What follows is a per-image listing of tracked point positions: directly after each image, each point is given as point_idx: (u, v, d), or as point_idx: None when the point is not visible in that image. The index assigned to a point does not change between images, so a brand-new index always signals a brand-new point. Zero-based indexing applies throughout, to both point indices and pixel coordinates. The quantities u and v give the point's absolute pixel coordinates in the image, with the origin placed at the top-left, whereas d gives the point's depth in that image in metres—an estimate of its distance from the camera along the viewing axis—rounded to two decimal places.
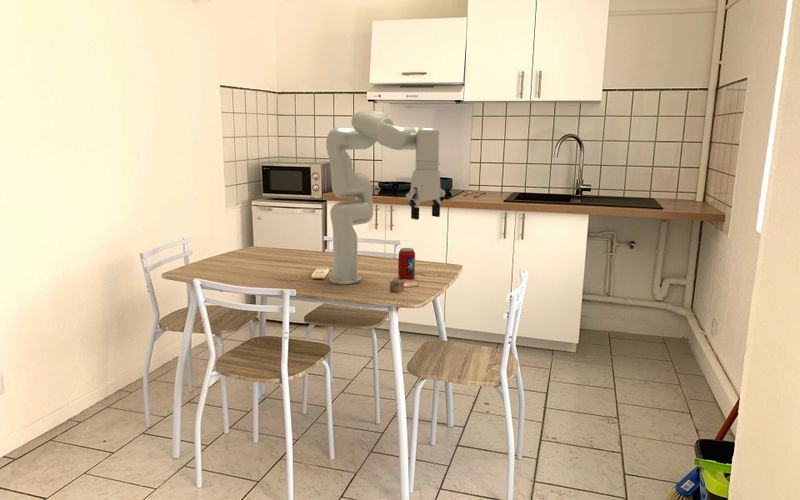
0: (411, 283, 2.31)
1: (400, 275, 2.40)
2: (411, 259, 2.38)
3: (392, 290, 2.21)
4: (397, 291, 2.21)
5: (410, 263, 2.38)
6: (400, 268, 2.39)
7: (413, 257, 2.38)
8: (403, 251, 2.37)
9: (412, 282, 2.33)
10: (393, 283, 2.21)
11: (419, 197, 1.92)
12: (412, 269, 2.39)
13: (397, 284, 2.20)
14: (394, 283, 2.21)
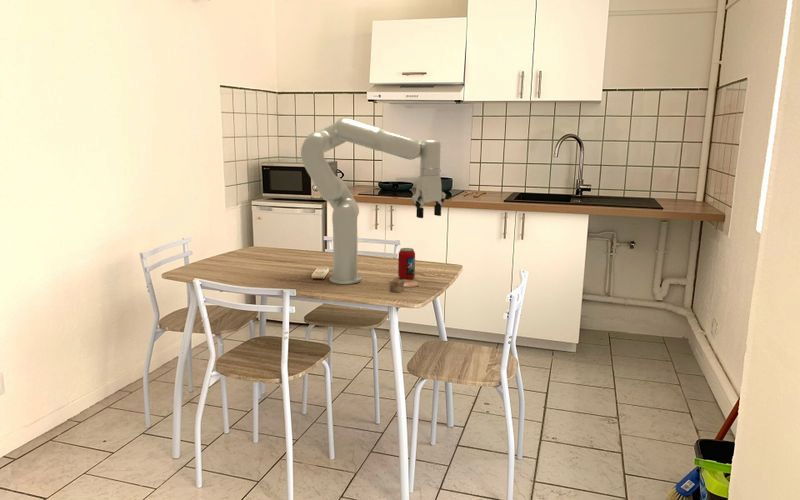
0: (411, 283, 2.31)
1: (400, 275, 2.40)
2: (411, 259, 2.38)
3: (392, 290, 2.21)
4: (397, 291, 2.21)
5: (410, 263, 2.38)
6: (400, 268, 2.39)
7: (413, 257, 2.38)
8: (403, 251, 2.37)
9: (412, 282, 2.33)
10: (393, 283, 2.21)
11: (423, 199, 2.25)
12: (412, 269, 2.39)
13: (397, 284, 2.20)
14: (394, 283, 2.20)
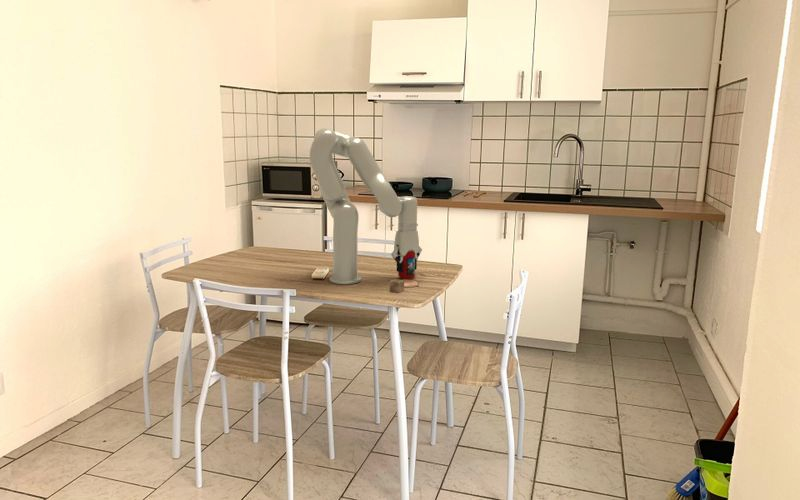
0: (411, 283, 2.31)
1: (400, 275, 2.40)
2: (411, 259, 2.38)
3: (392, 290, 2.21)
4: (397, 291, 2.21)
5: (410, 263, 2.38)
6: None
7: (413, 257, 2.38)
8: None
9: (412, 282, 2.33)
10: (393, 283, 2.21)
11: (401, 253, 2.35)
12: (412, 269, 2.39)
13: (397, 284, 2.20)
14: (394, 283, 2.20)
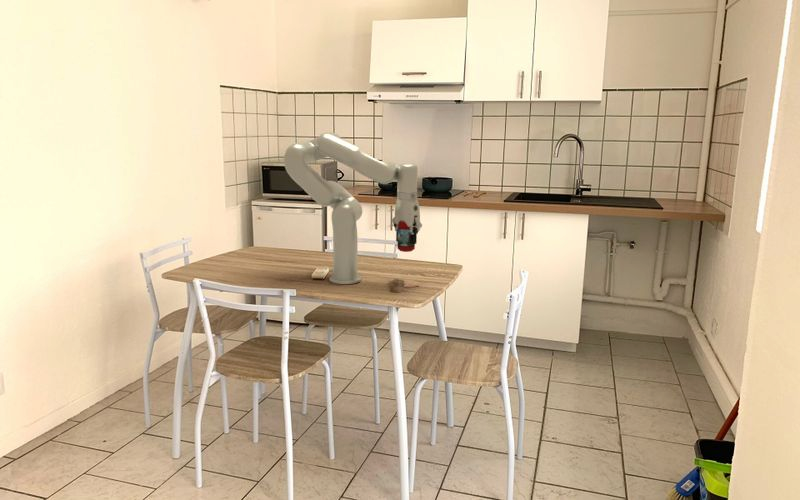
0: (411, 283, 2.31)
1: None
2: (399, 229, 2.26)
3: (392, 290, 2.21)
4: (397, 291, 2.21)
5: (398, 233, 2.27)
6: None
7: (401, 228, 2.25)
8: None
9: (412, 282, 2.33)
10: (393, 283, 2.21)
11: (394, 220, 2.30)
12: (400, 241, 2.27)
13: (397, 284, 2.20)
14: (394, 283, 2.20)
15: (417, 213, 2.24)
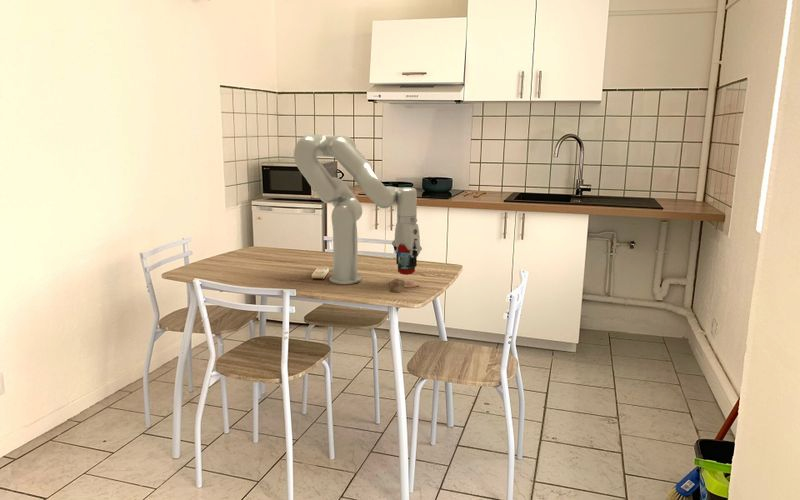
0: (411, 283, 2.31)
1: None
2: (399, 253, 2.28)
3: (392, 290, 2.21)
4: (397, 291, 2.21)
5: (398, 256, 2.28)
6: None
7: (401, 251, 2.27)
8: None
9: (412, 282, 2.33)
10: (393, 283, 2.21)
11: (395, 243, 2.32)
12: (400, 264, 2.28)
13: (397, 284, 2.20)
14: (394, 283, 2.20)
15: (417, 236, 2.25)
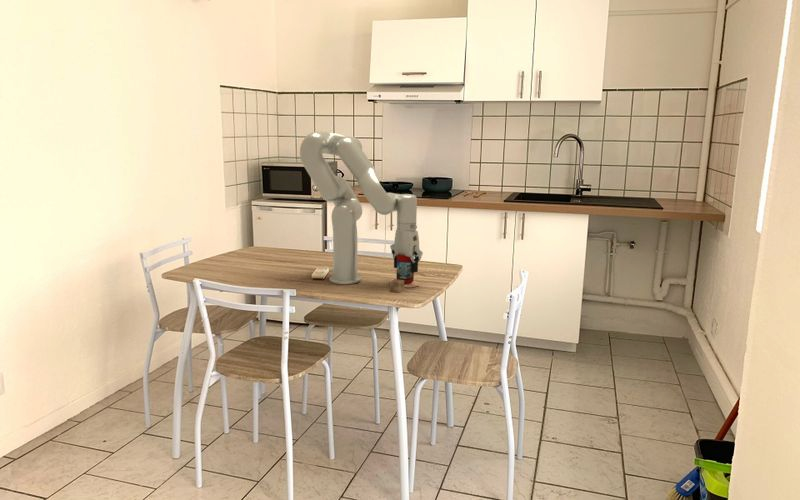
0: (411, 283, 2.31)
1: None
2: (398, 262, 2.29)
3: (392, 290, 2.21)
4: (397, 291, 2.21)
5: (397, 266, 2.29)
6: None
7: (400, 261, 2.28)
8: None
9: (412, 282, 2.33)
10: (393, 283, 2.21)
11: None
12: (399, 273, 2.29)
13: (397, 284, 2.20)
14: (394, 283, 2.20)
15: (416, 243, 2.26)
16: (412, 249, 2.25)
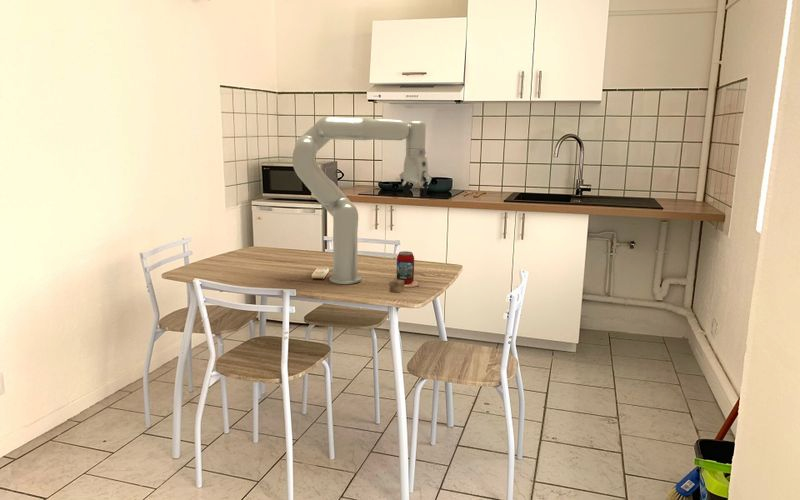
0: (411, 283, 2.31)
1: None
2: (398, 262, 2.29)
3: (392, 290, 2.21)
4: (397, 291, 2.21)
5: (397, 266, 2.29)
6: None
7: (400, 261, 2.28)
8: None
9: (412, 282, 2.33)
10: (393, 283, 2.21)
11: (403, 177, 2.36)
12: (399, 273, 2.29)
13: (397, 284, 2.20)
14: (394, 283, 2.20)
15: (425, 169, 2.29)
16: (421, 174, 2.28)
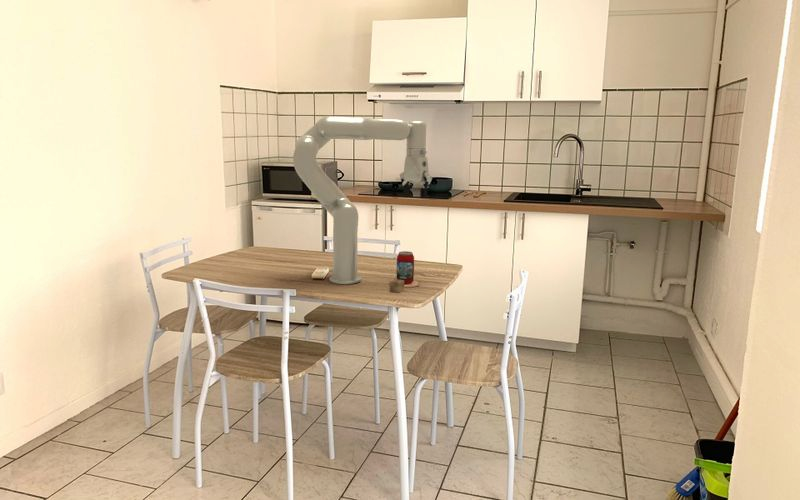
0: (411, 283, 2.31)
1: None
2: (398, 262, 2.29)
3: (392, 290, 2.21)
4: (397, 291, 2.21)
5: (397, 266, 2.29)
6: None
7: (400, 261, 2.28)
8: None
9: (412, 282, 2.33)
10: (393, 283, 2.21)
11: (404, 177, 2.36)
12: (399, 273, 2.29)
13: (397, 284, 2.20)
14: (394, 283, 2.20)
15: (426, 169, 2.30)
16: (422, 174, 2.29)
